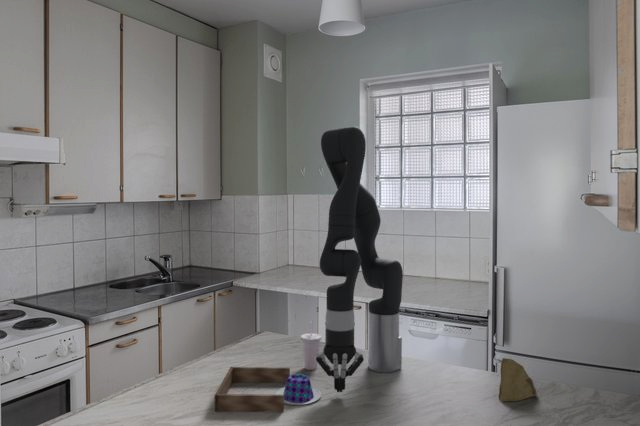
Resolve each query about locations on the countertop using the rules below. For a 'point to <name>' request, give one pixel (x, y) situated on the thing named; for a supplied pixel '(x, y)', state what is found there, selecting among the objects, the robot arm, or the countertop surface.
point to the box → (251, 400)
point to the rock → (515, 382)
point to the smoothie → (310, 348)
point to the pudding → (299, 390)
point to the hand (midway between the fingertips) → (339, 390)
